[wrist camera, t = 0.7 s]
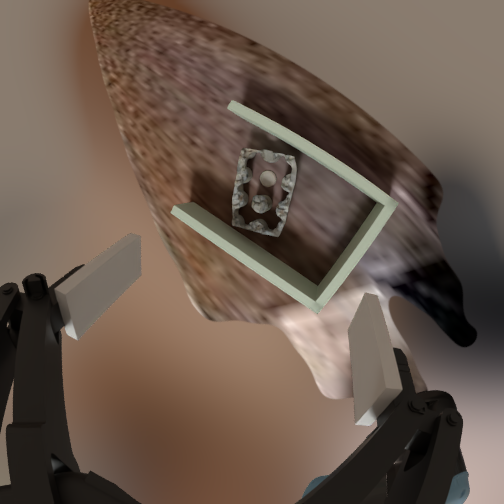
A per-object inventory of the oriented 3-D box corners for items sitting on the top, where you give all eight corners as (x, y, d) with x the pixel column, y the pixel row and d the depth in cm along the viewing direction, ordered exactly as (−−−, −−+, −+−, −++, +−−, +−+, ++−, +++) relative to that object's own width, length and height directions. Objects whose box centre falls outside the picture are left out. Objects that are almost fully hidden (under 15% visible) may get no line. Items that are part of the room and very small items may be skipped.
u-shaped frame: (388, 200, 33) (398, 203, 28) (319, 297, 39) (317, 314, 34) (245, 110, 35) (232, 100, 30) (189, 208, 41) (170, 212, 36)
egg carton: (249, 147, 37) (240, 143, 33) (303, 159, 35) (300, 156, 31) (232, 221, 40) (222, 225, 36) (284, 236, 38) (278, 241, 34)
